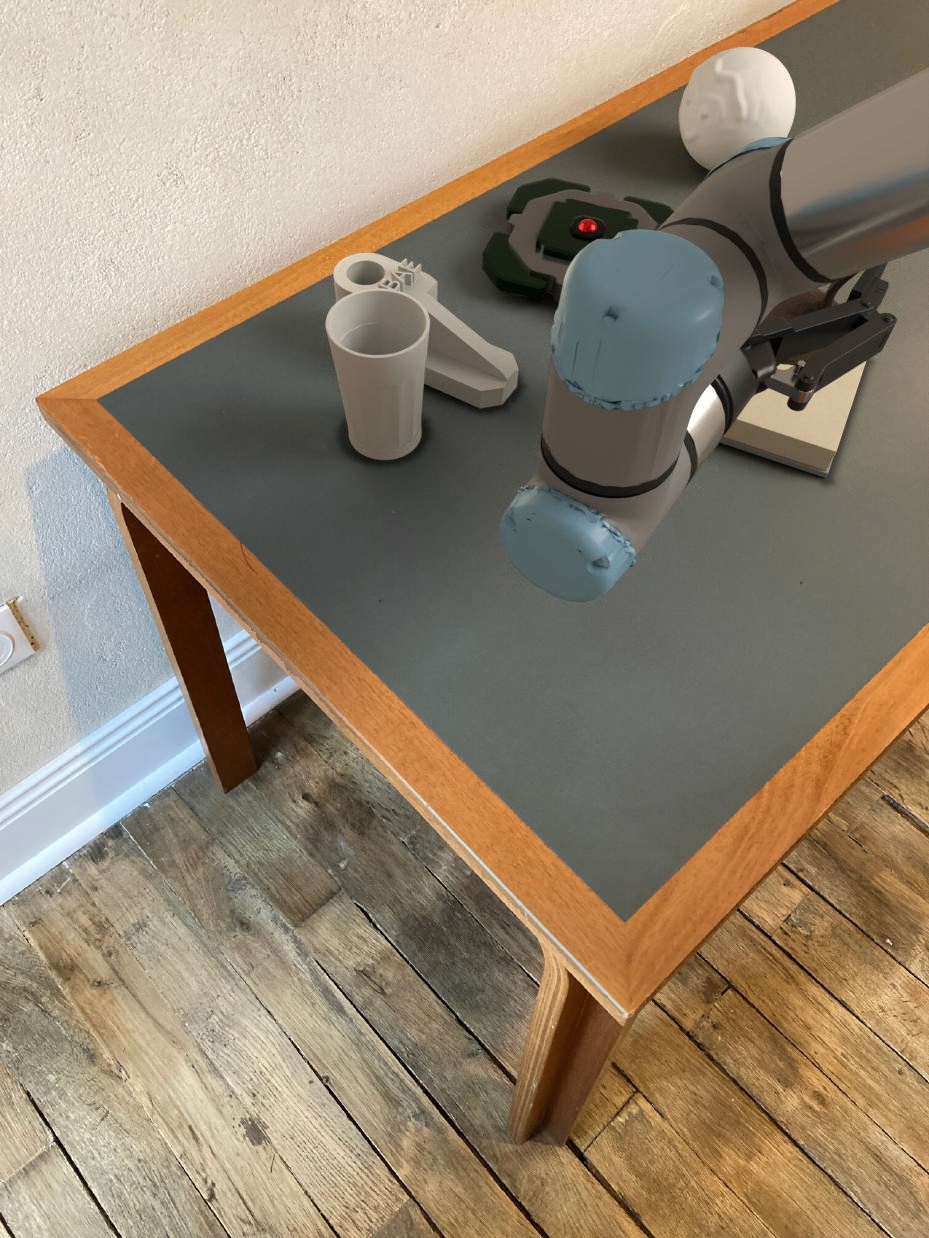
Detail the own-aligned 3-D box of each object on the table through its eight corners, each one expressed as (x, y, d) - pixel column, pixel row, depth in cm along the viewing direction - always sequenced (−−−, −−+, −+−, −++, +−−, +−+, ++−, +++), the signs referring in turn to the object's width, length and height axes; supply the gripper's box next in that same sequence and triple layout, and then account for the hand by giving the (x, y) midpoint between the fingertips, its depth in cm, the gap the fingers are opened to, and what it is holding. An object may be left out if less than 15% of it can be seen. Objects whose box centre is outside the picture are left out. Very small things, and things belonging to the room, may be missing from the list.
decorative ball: (648, 149, 107) (670, 37, 97) (736, 127, 110) (766, 16, 100) (706, 207, 101) (735, 95, 91) (797, 182, 104) (835, 70, 94)
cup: (372, 388, 85) (363, 275, 75) (448, 422, 83) (449, 311, 73) (321, 443, 81) (304, 332, 71) (398, 480, 79) (392, 372, 69)
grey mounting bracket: (493, 414, 83) (498, 343, 77) (328, 340, 88) (319, 268, 81) (524, 377, 86) (532, 305, 79) (362, 307, 91) (356, 234, 84)
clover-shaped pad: (524, 193, 102) (528, 152, 98) (687, 230, 99) (698, 190, 95) (470, 294, 92) (471, 253, 88) (648, 338, 89) (658, 298, 86)
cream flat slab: (865, 360, 88) (877, 334, 86) (825, 478, 80) (838, 454, 78) (678, 302, 92) (685, 277, 90) (622, 410, 84) (628, 385, 82)
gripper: (515, 375, 66) (661, 220, 76) (824, 523, 59) (939, 332, 69) (523, 285, 60) (681, 130, 70) (870, 440, 53) (989, 243, 63)
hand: (810, 231), depth 70 cm, fingers closed on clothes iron, 11 cm apart
